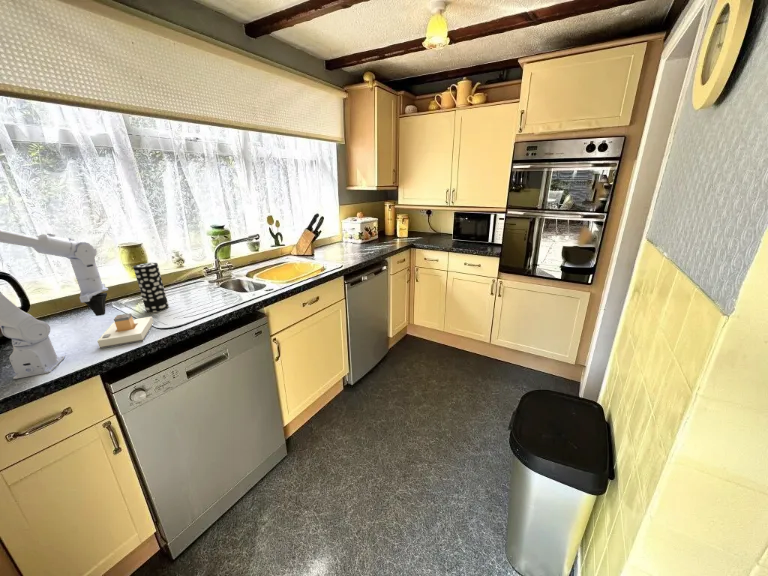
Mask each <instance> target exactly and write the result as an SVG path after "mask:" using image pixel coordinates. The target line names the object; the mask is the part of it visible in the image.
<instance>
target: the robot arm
mask: <svg viewBox="0 0 768 576" xmlns="http://www.w3.org/2000/svg"><path fill="white" fill-rule="evenodd" d="M0 243H3V244H10V245H16V246H22V247H29V248H33V250H34V251H35V252H37V253H38V254H43V255H49V256H54V257H55V256H56V257H61V258H67V259H68V260H69V262H70V264H71V266H72V270H73V273H74V275H75V278H76V281H77V284H78V287H79V290H80V296H79V297H78V298H79V300H80V301H79V302H80V303H84V304H86V305H87V306H88V307H89V308H90V310H91V311H92V312H93V314H94V315H95V316H96V317H99V316H100V317H101V316H104V315H105V314H106V301H107V297H108V293H107V292H106V291H109V287H106V285H105V283H102V279H101V276H100V273H99V269H98V267H97V263H96V255H97V253H98V252H97V248H95V247H94V246H93V245H92V244H90V243H89V242H85V241H75V239H74V238H64V237H59V236H56V234H54V233H46V234H44V233H41V234H39V235H37V236H32V235H27V234H24V233H21V232H20V233H19V232H15V231H11V230H6V229H2V228H0ZM0 330H1V334H2V335H3V336H4V337H6V338H8V339H11V345H12V347H13V350H12V353H10V356H9V362H10V364H11V366H12V369H13V371H14V372H15V376H13V377H12V378H13V380H16V379H23V378H28V377H32V376H38V375H43V374H49V373H50V372H52V371H53V370H54V369H56V367H57V366H58V365H60V363H61V362H62V361H63V360H64V359H65V358H66V356H65V355H61V356H57V354H56V350H55V348H54V345H53V344H52V341H51V339H50V336H49V335H50V333H51V326H50V325H49V323H47V322H46V321H44V320H40V319H37V318H35V317H34V316H33V315H31V314H30V313H28V312H26V311H24V310H22V309H20V308H19V307H18V306H17V305H16V304H15V303H13V302H12V301H11V300H10V299H8V297H6V296H5V295H3V293H2V292H0Z"/></svg>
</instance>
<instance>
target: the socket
mask: <svg viewBox="0 0 768 576" xmlns="http://www.w3.org/2000/svg"><path fill="white" fill-rule="evenodd" d="M133 321H134V324H135V328H134V329H132V330H126V331H120V332H118V330H117V327H116V324H115V321H113V323H112V324H111V325H110V326H109V327H108V328H107V329H106V330H105V331H104V332H103V334H102V335H101V336H100V337H99V338H98V340H97V344H98V347H99V349H100V350H101V349H106V348H111V347H112V348H113V347H117V346H123V345H130V344H135V343H140V342H139V341H141V342H144V341H145V339H146V337H147V336H148V334H149V333H150V331H149V330H151V329H152V328H153V326H152V324H153V323H154V319H153V316H147V317H139V318H133ZM153 325H154V324H153ZM150 328H151V329H150ZM147 333H148V334H147ZM146 335H147V336H146ZM144 338H145V339H144ZM143 340H144V341H143Z"/></svg>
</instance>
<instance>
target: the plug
mask: <svg viewBox="0 0 768 576" xmlns="http://www.w3.org/2000/svg"><path fill="white" fill-rule="evenodd" d="M133 319H134V318H133V314H132V312H130V313H124V314H123V313H121V314H117V315H116V317H114V319H113V320H114V321H113V322H115V324H116V327H117V330H118V332H120V331H126V330H132V329H134V328H135V324H134V321H133Z"/></svg>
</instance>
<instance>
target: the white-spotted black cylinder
mask: <svg viewBox="0 0 768 576" xmlns="http://www.w3.org/2000/svg"><path fill="white" fill-rule="evenodd" d="M133 271H134V274H135V277H136V282H137V284H138V289H139V291H140V295H141V298H142V302H143V306H144V309H145V312H146V311H147V313H157V312H162V311H165V310H167V309H168V308H169V307H170V306H169V303H168V298H167V296H166V295H167V294H166V291H165V287H164V284H163V279H162V276H161V271H160V267H159V265H158V262H147V263H146V262H145V263H140V264H136V265H133Z"/></svg>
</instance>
